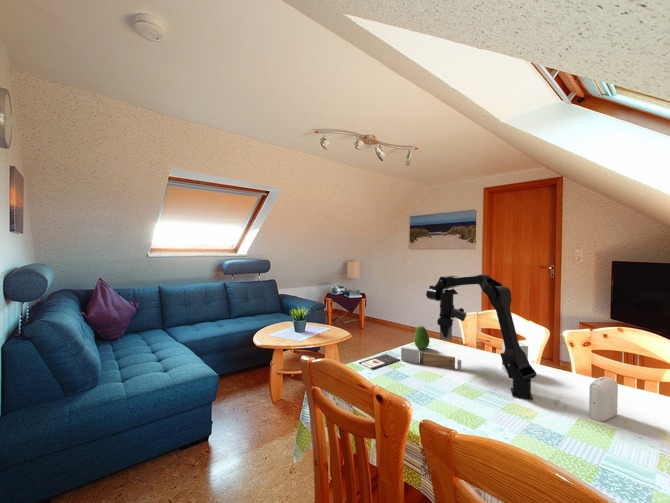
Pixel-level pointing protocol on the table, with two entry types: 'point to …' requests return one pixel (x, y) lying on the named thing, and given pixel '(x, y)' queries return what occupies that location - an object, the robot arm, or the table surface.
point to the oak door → (437, 360)
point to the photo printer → (603, 398)
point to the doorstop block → (447, 335)
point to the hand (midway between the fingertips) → (445, 336)
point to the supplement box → (522, 346)
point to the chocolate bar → (379, 361)
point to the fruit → (421, 338)
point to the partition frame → (416, 356)
